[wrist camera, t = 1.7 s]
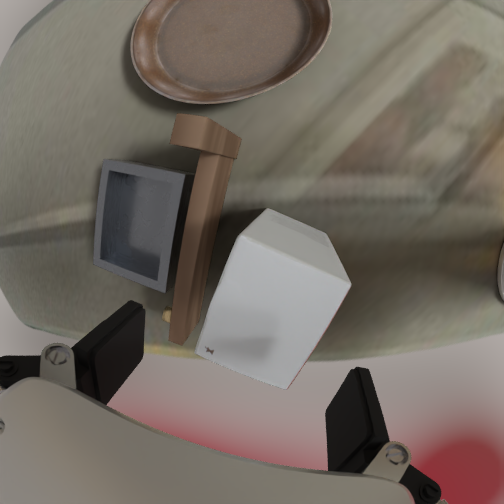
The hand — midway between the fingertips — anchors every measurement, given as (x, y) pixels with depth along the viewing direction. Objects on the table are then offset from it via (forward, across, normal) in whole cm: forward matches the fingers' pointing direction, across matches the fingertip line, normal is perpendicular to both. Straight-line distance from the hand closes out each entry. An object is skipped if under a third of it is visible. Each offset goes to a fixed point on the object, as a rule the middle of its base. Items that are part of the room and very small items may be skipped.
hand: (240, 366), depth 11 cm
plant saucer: (+17, +10, -23) cm, 30 cm away
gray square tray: (+17, +14, 0) cm, 22 cm away
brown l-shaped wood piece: (+17, +7, 0) cm, 18 cm away
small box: (+17, -1, 0) cm, 17 cm away
